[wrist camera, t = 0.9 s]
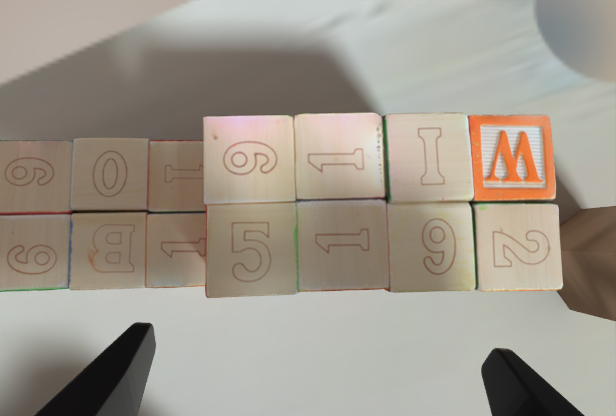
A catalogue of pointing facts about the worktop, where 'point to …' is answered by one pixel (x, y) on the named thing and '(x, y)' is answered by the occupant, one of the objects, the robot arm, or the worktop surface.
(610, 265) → the walnut block
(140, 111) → the worktop surface
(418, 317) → the worktop surface
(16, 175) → the stack of blocks
